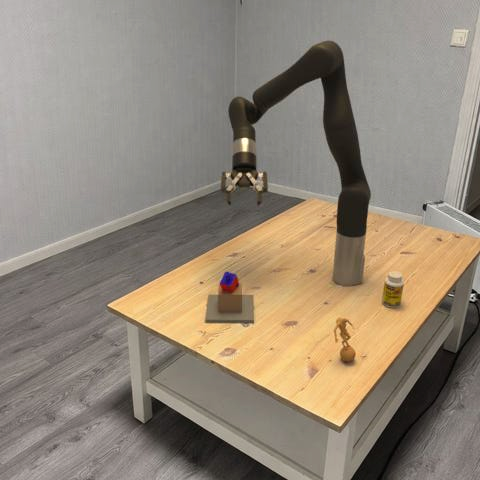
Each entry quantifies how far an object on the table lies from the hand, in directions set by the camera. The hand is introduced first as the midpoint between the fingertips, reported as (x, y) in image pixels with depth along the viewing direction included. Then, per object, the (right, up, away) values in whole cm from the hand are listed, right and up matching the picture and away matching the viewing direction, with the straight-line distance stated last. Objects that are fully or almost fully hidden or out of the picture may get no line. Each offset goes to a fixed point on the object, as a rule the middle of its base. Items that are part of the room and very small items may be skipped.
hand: (244, 204), depth 159 cm
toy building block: (-4, -25, -3) cm, 26 cm away
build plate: (-4, -32, 0) cm, 32 cm away
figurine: (+26, -42, -21) cm, 53 cm away
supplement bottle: (+45, -30, +3) cm, 54 cm away
